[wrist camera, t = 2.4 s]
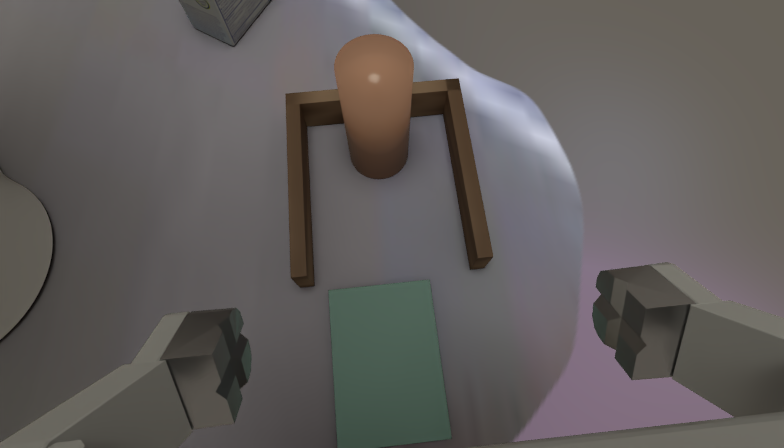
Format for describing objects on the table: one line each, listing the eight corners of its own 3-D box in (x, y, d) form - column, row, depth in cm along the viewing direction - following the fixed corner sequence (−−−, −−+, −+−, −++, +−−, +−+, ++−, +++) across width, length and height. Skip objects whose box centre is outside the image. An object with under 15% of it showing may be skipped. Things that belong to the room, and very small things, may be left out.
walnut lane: (300, 287, 30) (290, 277, 28) (294, 117, 35) (285, 93, 32) (484, 268, 31) (493, 256, 28) (453, 102, 36) (458, 78, 33)
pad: (338, 451, 27) (337, 452, 27) (329, 291, 30) (328, 290, 30) (450, 438, 27) (451, 438, 27) (429, 280, 31) (429, 279, 30)
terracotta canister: (352, 181, 33) (336, 102, 24) (348, 130, 35) (331, 37, 25) (411, 176, 33) (418, 95, 24) (404, 125, 35) (408, 31, 26)
